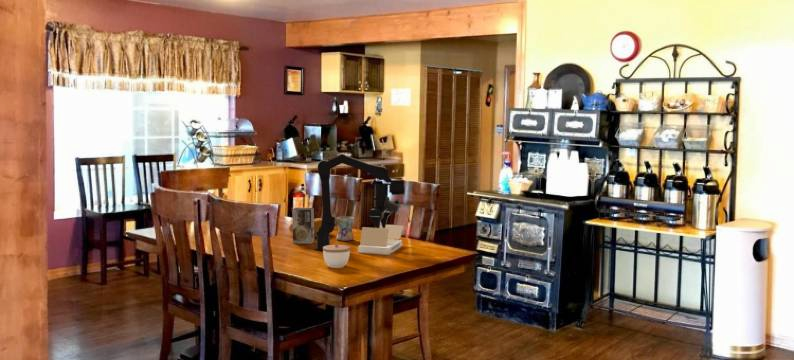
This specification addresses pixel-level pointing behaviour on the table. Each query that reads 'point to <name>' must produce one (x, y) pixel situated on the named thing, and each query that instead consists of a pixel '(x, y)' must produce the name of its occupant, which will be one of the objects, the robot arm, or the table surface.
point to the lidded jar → (336, 255)
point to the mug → (345, 228)
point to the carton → (381, 248)
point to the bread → (316, 226)
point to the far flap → (394, 231)
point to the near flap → (374, 237)
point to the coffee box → (303, 225)
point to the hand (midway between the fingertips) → (380, 229)
